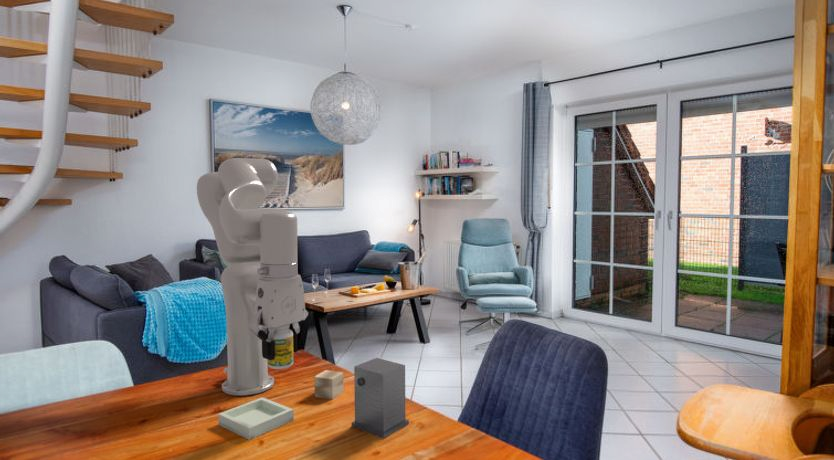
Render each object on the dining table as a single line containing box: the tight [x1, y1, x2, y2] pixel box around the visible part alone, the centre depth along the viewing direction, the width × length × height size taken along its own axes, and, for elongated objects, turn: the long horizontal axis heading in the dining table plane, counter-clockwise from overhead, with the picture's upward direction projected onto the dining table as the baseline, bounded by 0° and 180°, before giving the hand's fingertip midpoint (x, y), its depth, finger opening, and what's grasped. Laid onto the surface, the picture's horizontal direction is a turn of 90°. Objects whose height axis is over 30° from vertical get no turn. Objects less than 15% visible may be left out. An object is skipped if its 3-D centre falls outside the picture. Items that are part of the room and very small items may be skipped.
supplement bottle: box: [267, 325, 294, 370], centre depth 108 cm, size 5×5×10 cm
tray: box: [217, 396, 295, 441], centre depth 108 cm, size 11×11×2 cm
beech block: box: [313, 369, 344, 401], centre depth 124 cm, size 5×5×5 cm
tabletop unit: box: [351, 357, 410, 439], centre depth 107 cm, size 9×8×13 cm
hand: (280, 353), depth 108 cm, fingers closed on supplement bottle, 5 cm apart
